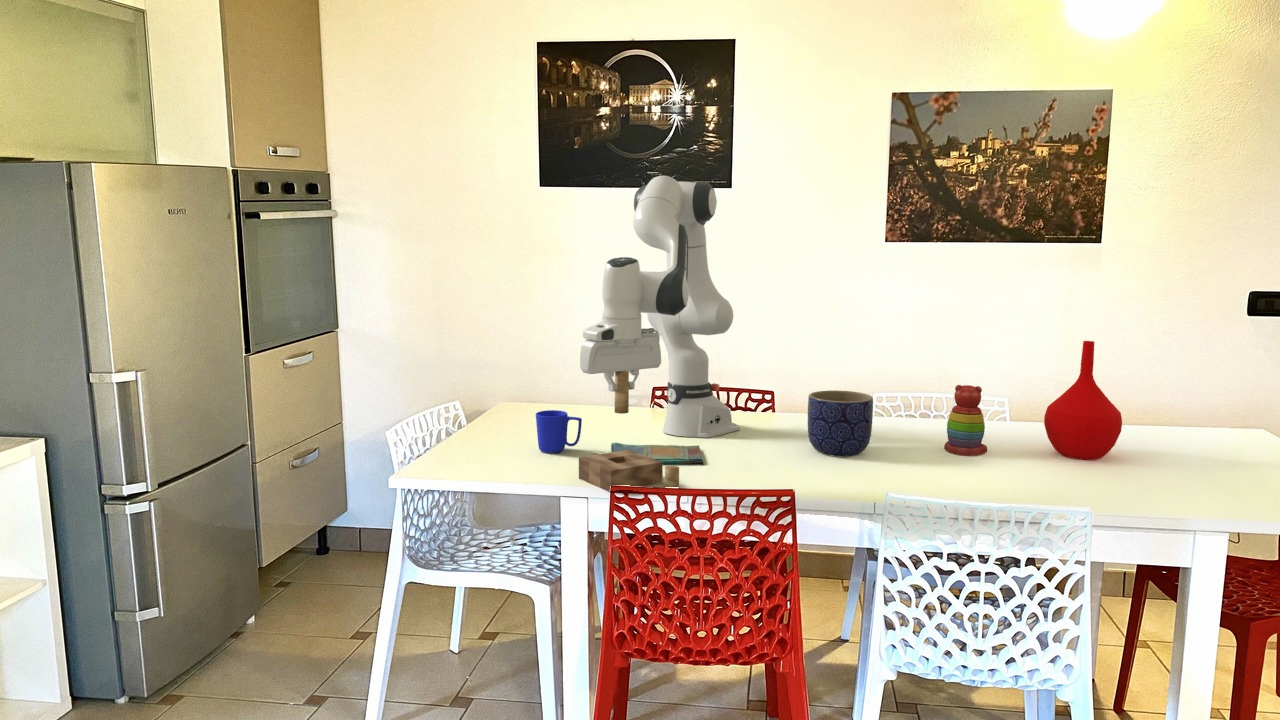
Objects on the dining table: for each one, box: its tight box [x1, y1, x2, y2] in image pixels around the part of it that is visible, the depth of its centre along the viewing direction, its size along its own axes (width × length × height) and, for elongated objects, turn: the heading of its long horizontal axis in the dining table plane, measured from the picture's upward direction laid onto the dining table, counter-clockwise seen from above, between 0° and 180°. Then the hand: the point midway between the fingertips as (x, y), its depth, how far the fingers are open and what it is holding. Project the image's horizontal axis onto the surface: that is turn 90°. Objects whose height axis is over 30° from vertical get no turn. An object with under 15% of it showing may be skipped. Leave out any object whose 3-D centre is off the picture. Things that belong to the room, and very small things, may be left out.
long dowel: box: [614, 370, 630, 415], centre depth 222 cm, size 3×3×10 cm
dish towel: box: [610, 442, 704, 466], centre depth 248 cm, size 17×23×2 cm
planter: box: [807, 389, 874, 457], centre depth 253 cm, size 16×17×15 cm
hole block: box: [578, 450, 664, 492], centre depth 225 cm, size 14×14×5 cm
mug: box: [535, 409, 583, 454], centre depth 252 cm, size 8×12×10 cm
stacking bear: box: [943, 384, 988, 457], centre depth 254 cm, size 11×10×18 cm
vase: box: [1043, 340, 1123, 461], centre depth 250 cm, size 18×18×30 cm
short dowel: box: [664, 465, 680, 488], centre depth 219 cm, size 3×3×5 cm
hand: (621, 390), depth 222 cm, fingers closed on long dowel, 3 cm apart
